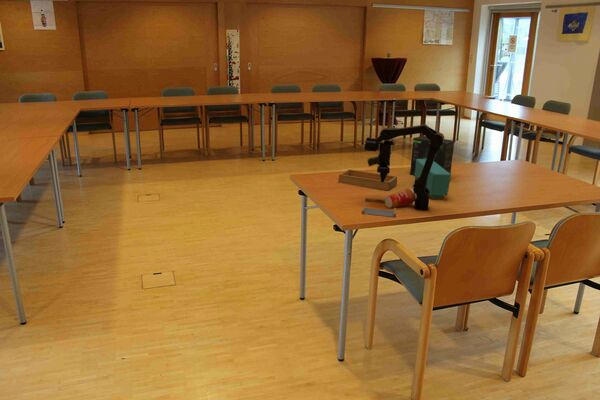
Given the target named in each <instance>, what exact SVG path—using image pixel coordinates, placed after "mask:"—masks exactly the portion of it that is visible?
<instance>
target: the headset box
mask: <svg viewBox="0 0 600 400" xmlns="http://www.w3.org/2000/svg"><path fill="white" fill-rule="evenodd" d="M430 143H431V141H430V140H429V139H428V138H427V137H426V136H425V135H420V136H417V137H413V139H412V149H411V159H410V160H411V161H410V171H409V175H410V176H414V177H415V168H416V159H427V156H428V153H429V150H430ZM454 146H455V140H451V139H445V138H444V141H443V143H442V145H441V146H440V148H439V150H438V151H437V154H436V156H435V159H434V162H435V163H437V164H438V165H439V166H441V167H442V168H443V169H445V170H446V171H447V172H448V173H450V174H451V173H452V163H453V154H454ZM451 175H452V174H451Z"/></svg>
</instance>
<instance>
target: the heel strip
mask: <svg viewBox="0 0 600 400" xmlns="http://www.w3.org/2000/svg"><path fill="white" fill-rule="evenodd" d="M364 202H367V203H368V202H369V203H378V204H385V199H380V198H369V197H365V201H364Z"/></svg>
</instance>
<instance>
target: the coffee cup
mask: <svg viewBox="0 0 600 400" xmlns="http://www.w3.org/2000/svg"><path fill="white" fill-rule="evenodd" d="M415 198H416V194H415V193H414V191H413V189H412V188H406V189H405V190H401V191H399V192H396V193H393V194H390V195H389V194H388V195H387V196H385V198H384V200H385V203H384V204H385V206H386V207H387V208H389V209H390V208H396V207H400V206H404V205H413V203H415Z"/></svg>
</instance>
